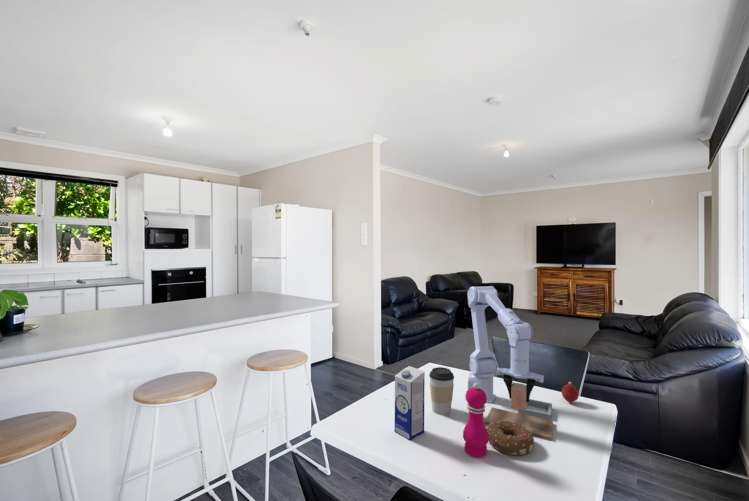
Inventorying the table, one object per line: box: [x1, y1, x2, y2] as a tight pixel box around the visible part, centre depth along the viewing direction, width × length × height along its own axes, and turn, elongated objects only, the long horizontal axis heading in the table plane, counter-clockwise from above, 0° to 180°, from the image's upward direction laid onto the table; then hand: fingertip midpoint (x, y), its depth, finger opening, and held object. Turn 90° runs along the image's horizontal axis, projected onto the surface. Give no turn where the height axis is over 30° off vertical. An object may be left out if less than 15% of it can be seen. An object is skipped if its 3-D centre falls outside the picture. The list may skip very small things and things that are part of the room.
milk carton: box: [394, 365, 426, 441], centre depth 112 cm, size 7×7×20 cm
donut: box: [486, 420, 535, 456], centre depth 105 cm, size 14×14×5 cm
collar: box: [517, 398, 553, 421], centre depth 127 cm, size 10×10×2 cm
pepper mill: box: [462, 383, 489, 459], centre depth 101 cm, size 7×7×20 cm
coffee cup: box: [428, 366, 455, 416], centre depth 127 cm, size 9×9×15 cm
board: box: [484, 406, 554, 442], centre depth 118 cm, size 20×12×1 cm, turn 61°
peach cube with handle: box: [510, 382, 528, 411], centre depth 117 cm, size 6×5×7 cm
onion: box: [561, 381, 580, 404], centre depth 134 cm, size 6×6×8 cm
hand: (519, 399), depth 117 cm, fingers closed on peach cube with handle, 5 cm apart
